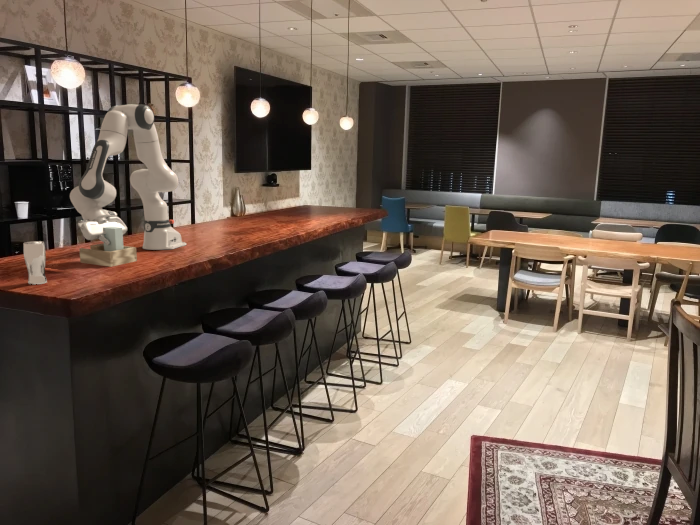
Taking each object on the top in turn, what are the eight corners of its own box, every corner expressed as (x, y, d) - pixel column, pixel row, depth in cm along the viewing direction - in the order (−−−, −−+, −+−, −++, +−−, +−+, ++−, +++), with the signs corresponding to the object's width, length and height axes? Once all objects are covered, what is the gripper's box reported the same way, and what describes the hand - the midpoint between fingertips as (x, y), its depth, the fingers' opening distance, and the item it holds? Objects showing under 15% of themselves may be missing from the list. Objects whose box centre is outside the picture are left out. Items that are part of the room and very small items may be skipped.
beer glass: (28, 285, 201) (23, 244, 198) (25, 282, 207) (21, 242, 204) (49, 283, 205) (46, 243, 202) (46, 279, 211) (43, 240, 208)
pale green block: (112, 260, 243) (110, 226, 240) (124, 262, 240) (122, 227, 237) (105, 262, 239) (102, 227, 236) (117, 264, 236) (114, 228, 233)
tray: (107, 259, 251) (106, 243, 250) (137, 263, 243) (136, 247, 242) (80, 264, 239) (79, 248, 237) (111, 269, 231) (109, 252, 230)
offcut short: (104, 249, 246) (103, 243, 245) (110, 250, 244) (110, 243, 244) (90, 252, 240) (90, 245, 239) (97, 253, 238) (96, 246, 237)
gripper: (78, 216, 229) (97, 241, 227) (118, 211, 247) (136, 235, 245) (72, 226, 232) (90, 251, 230) (112, 221, 250) (129, 244, 248)
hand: (114, 243), depth 237 cm, fingers open, 4 cm apart
